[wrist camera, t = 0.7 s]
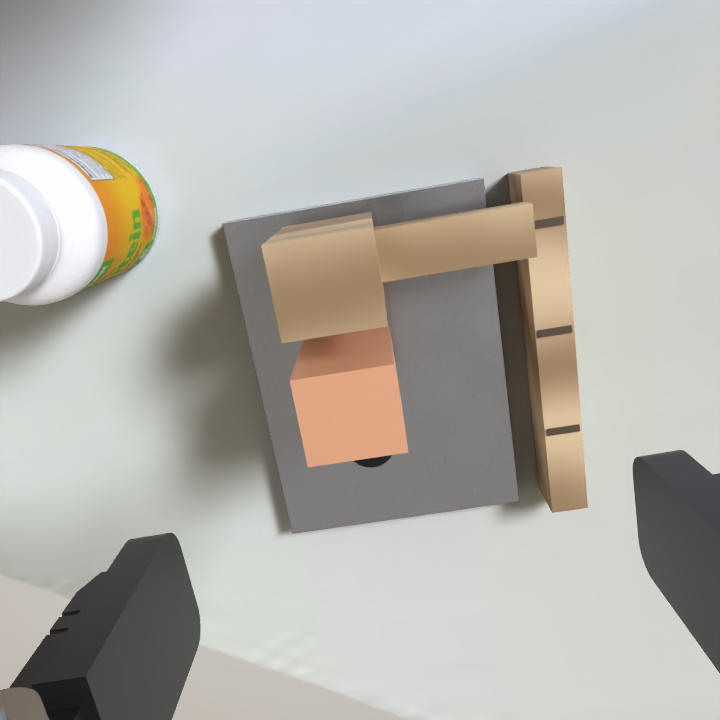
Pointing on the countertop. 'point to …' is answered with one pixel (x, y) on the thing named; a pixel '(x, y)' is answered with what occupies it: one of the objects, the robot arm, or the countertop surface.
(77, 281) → the supplement bottle
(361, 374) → the block
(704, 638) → the robot arm
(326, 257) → the gauge rule
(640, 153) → the countertop surface
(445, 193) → the bolt plate
